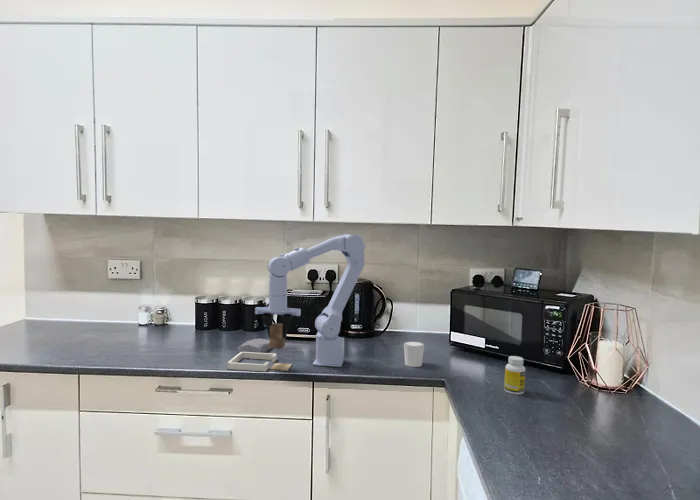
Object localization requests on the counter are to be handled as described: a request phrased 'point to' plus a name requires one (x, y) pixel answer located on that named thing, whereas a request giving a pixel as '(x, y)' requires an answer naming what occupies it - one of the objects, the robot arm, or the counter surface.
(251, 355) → the white open square frame
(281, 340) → the walnut block
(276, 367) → the cork trivet
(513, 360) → the supplement bottle
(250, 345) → the stone block
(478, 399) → the counter surface
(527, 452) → the counter surface
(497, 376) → the counter surface
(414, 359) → the shot glass
